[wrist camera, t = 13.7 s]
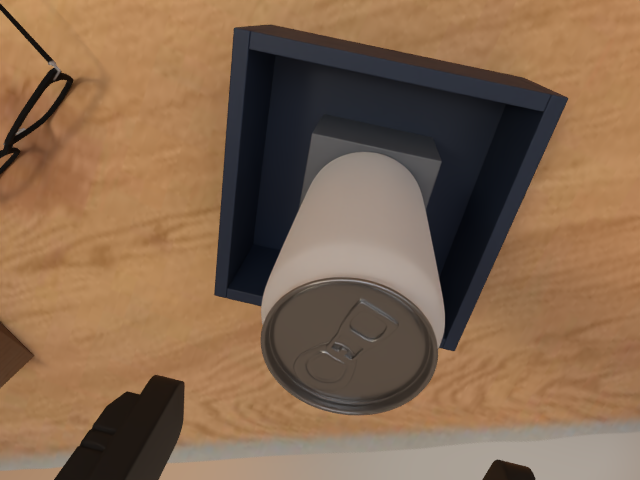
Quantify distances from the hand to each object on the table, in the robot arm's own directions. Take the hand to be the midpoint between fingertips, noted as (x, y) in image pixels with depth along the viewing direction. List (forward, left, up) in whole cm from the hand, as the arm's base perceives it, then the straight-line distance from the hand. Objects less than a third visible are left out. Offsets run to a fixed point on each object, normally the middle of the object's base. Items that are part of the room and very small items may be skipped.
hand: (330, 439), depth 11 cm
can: (0, 0, -15) cm, 15 cm away
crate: (0, 0, -21) cm, 21 cm away
